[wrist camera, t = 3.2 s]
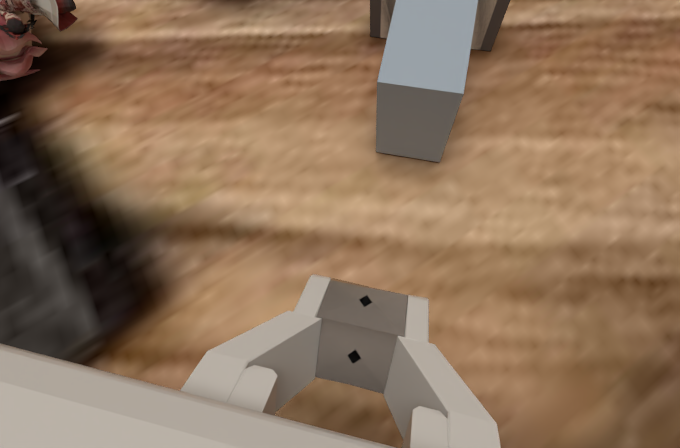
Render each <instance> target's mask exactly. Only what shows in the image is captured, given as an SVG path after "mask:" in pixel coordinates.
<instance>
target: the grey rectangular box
mask: <svg viewBox="0 0 680 448" xmlns="http://www.w3.org/2000/svg"><path fill="white" fill-rule="evenodd" d="M477 4H478V0H396V2H395V6H394V11H393V15H392V19H391V24H390V28H389V33H388V37H387V41H386V46H385V50H384V54H383V59H382V63H381V67H380V72H379V76H378V81H377V122H376V152H380V153H386V154H392V155H398V156H405V157H411V158H417V159H423V160H429V161H435V162H440V160H441V157H442V154H443V151H444V148H445V146H446V143H447V140H448V137H449V134H450V131H451V128H452V126H453V123H454V120H455V117H456V114H457V111H458V108H459V105H460V103H461V100H462V97H463V94H464V88H465V81H466V75H467V69H468V62H469V56H470V49H471V43H472V36H473V30H474V23H475V17H476V10H477Z"/></svg>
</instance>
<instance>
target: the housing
mask: <svg viewBox="0 0 680 448" xmlns="http://www.w3.org/2000/svg"><path fill="white" fill-rule="evenodd" d="M395 2H396V0H370V36H371V37H379V38H387V37H388V33H389V28H390V24H391V19H392V15H393V11H394V6H395ZM509 2H510V0H478V4H477V10H476V17H475V23H474V30H473V36H472V43H471V49H477V50H485V51H491V49H492V46H493V44H494V41H495V38H496V36H497V33H498V31H499V28H500V26H501V23H502V20H503V18H504V15H505V13H506V10H507V8H508V5H509Z"/></svg>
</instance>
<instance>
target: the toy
mask: <svg viewBox="0 0 680 448" xmlns="http://www.w3.org/2000/svg"><path fill="white" fill-rule="evenodd" d="M75 9H76V6H75V3H74V1H73V0H0V81H4V80H10V79H15V78H19V77H22V76H26V75H29V74H32V73H35V72H37V71H39V70H41V69H35V70H28V69H29V68H30V67H31V65H32V60H33V56H35V57H39V56H41V55H42V54H43V53H44V52H45V51H46V50H47V49H48V48H41V47H36V46H32V41H36V42H38V43H41V42H40V40H39V39H38V38H37V37H36V36H35V35H33V34H32V33H31V29H33V28H34V27H33V25H34V23H35V22H36V21H37V20H35V21H34V15H42V14H43V15H44V16H46V17H47V18H48V19H49V20H51V21H52V23H53V24H54V25H55V26H56V27H57V29H58V30H59V31H63V30H65V29H67V28H68V27H69V26H71V25H72V24H73V23H74V22H75V21H76V20H77V19H78V18H76V17H75V16H74V15H73V14H71V13H70V11H73V10H75ZM31 27H33V28H31ZM41 44H42V43H41Z"/></svg>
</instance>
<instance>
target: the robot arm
mask: <svg viewBox="0 0 680 448" xmlns="http://www.w3.org/2000/svg"><path fill="white" fill-rule="evenodd" d="M315 377H318V378H322V379H327V380H331V381H336V382H341V383H345V384H349V383H350V385H353V386H357V387H360V388H364V389H368V390H371V391H375V392H379V393H382V394H384V398H385V400H386V402H387V405H388V407H389V409H390V411H391V414H392V416H393V418H394V420H395V423H396V425H397V427H398V429H399V432H400V434H401V436H402V438H403V444H402V447H401V448H501V447H500V440H499V434H498V428H497V423H496V422H495V421H494V420H493V418H492V417H491V416H490V414H489V413H488V412H487V411H486V409H485V408H484V407H483V406H482V404H481V403H480V402H479V400H478V399H477V398H476V397H475V395H474V394H473V393H472V391H471V390H470V389H469V388H468V386H467V385H466V384H465V382H464V381H463V380H462V379H461V377H460V376H459V375H458V374H457V372H456V371H455V370H454V368H453V367H452V366H451V365H450V363H449V362H448V361H447V359H446V358H445V357H444V356H443V354H442V353H441V352H440V351H439V349H438V348H437V347H436V345H435V344H431V343H429V300H428V298H424V297H418V296H413V295H405V294H400V293H395V292H390V291H385V290H380V289H375V288H371V287H368V286H364V285H360V284H355V283H351V282H347V281H343V280H338V279H334V278H332V279H331V278H330V277H325V276H321V275H316V274H312V275H311V276H310V278H309V280H308V282H307V284H306V286H305V288H304V290H303V292H302V295H301V297H300V299H299V301H298V303H297V305H296V307H295V309H294V311H293V312H291V311H286V312H284V313H282V314H280V315H278V316H276V317H274V318H272V319H270V320H268V321H266V322H264V323H262V324H260V325H258V326H257V327H255V328H253V329H251V330H249V331H247V332H245V333H243V334H241V335H239V336H237V337H235V338H233V339H231V340H229V341H227V342H225V343H223V344H221V345H219V346H217V347H215V348H213V349H211V350H209V351H207V352H206V354H205V355H204V357H203V358H202V360H201V361H200V362H199V364H198V365H197V367H196V368H195V370H194V371H193V373H192V374H191V376H190V377H189V378H188V380H187V381H186V383H185V384H184V386H183V387H182V389H181V390H180V391H179V390H175V389H171V388H167V387H164V386H160V385H156V384H152V383H148V382H145V381H141V380H137V379H133V378H129V377H125V376H122V375H118V374H114V373H110V372H106V371H103V370H99V369H95V368H91V367H87V366H84V365H80V364H76V363H72V362H68V361H65V360H61V359H57V358H53V357H49V356H46V355H42V354H38V353H34V352H30V351H27V350H23V349H19V348H15V347H11V346H8V345H4V344H0V448H396V447H392V446H389V445H385V444H381V443H377V442H373V441H370V440H366V439H362V438H358V437H354V436H350V435H347V434H343V433H339V432H335V431H331V430H328V429H324V428H320V427H316V426H312V425H308V424H305V423H301V422H297V421H293V420H289V419H286V418H282V417H278V416H275V412H276V411H277V410H279V409H280V408H281V407H282V406H283V405H285V404H286V403H287V402H288V401H289V400H290V399H292V398H293V397H294V396H295V395H296V394H298V393H299V392H300V391H301V390H302V389H303V388H305V387H306V386H307V385H308V384H309V383H310V382H312V381H313V380H314V379H315Z"/></svg>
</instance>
